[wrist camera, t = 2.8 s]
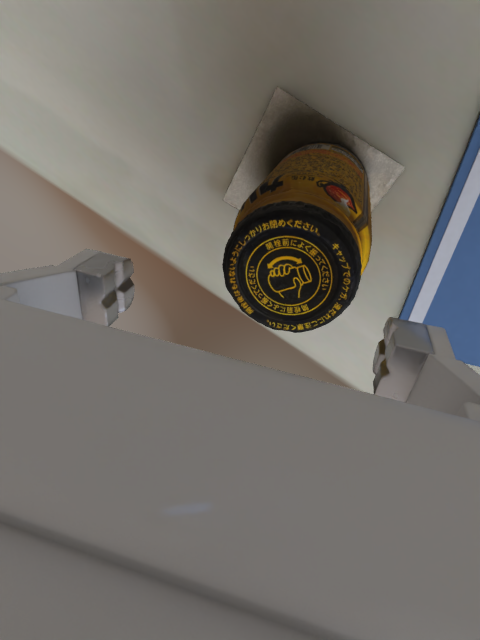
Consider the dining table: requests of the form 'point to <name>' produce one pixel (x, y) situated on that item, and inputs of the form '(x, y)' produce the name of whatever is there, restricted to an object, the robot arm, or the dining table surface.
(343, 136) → the condiment
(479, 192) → the napkin
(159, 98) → the dining table surface
